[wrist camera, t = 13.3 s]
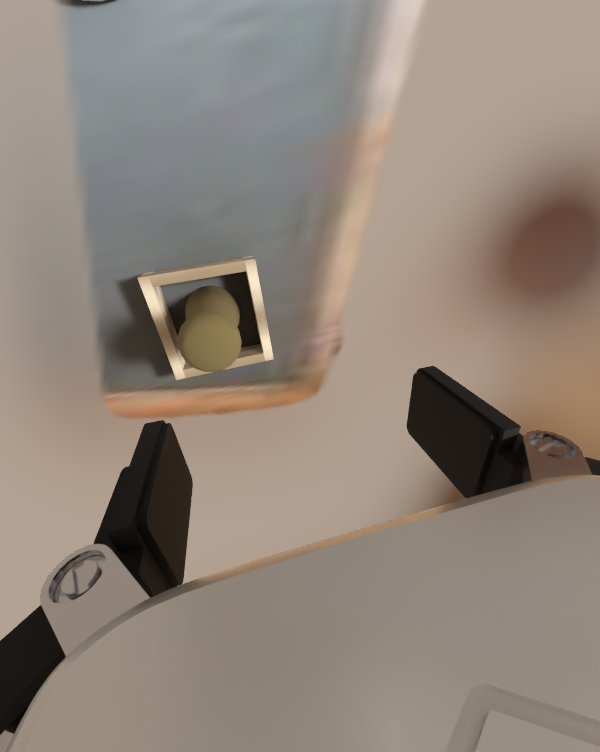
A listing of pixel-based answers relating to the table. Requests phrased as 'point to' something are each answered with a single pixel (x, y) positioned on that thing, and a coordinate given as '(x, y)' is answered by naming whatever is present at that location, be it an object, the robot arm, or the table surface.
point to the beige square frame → (163, 277)
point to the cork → (210, 330)
